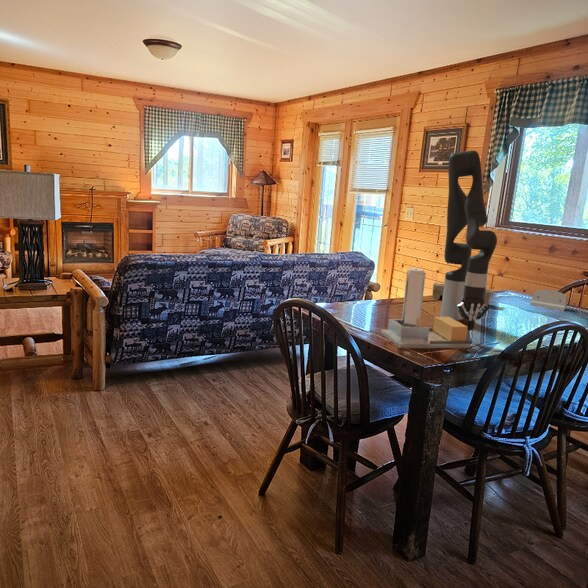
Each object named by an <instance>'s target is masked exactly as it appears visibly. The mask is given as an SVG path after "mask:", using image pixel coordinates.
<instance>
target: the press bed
mask: <svg viewBox="0 0 588 588" xmlns="http://www.w3.org/2000/svg"><path fill="white" fill-rule="evenodd" d="M401 323H402V318H389V319H388V324H387V325H388V326H387V329H385V328H384V329H382V328H381V329H380V334H381V333H382V334H383V335H382V334H381V335H382V336H383V337H385V338H386V337H387V338H388V339H389V340H388V339H387V338H386V339H387V340H388V341H390V342H391V341H392V342H393V343H394V346H396V347H397V346H398V347H399V349H470V348H471V344H473V340H466V341H449V340H447V339H446V338H444V337H443V336H441V335H439V334H438V333H436V332H435V331H433V327H429V326H419V327H404V326H402V325H401ZM392 342H391V343H392ZM393 343H392V344H393ZM398 347H397V348H398Z"/></svg>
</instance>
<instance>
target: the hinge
mask: <svg viewBox="0 0 588 588" xmlns="http://www.w3.org/2000/svg"><path fill="white" fill-rule="evenodd" d="M567 304H568V296H567V295H566V293H565V294H564V293H562V292H560V291H556V290H553V289H537V290H535V291H534V294H533V296H532V299H531V300H530V304H529V305H530V306H534V307H539V308H545V309H550V310H556V311H562V312H565V310H566V311H567Z"/></svg>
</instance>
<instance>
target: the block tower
mask: <svg viewBox="0 0 588 588" xmlns="http://www.w3.org/2000/svg"><path fill="white" fill-rule="evenodd" d="M432 286H433V287H432V297H431V298H432V299H434V300H438V299H440V298H441V297H442V298H441V299H440V300H442V299H443V291H444V283H439V282H435V283H433V285H432ZM493 294H494V290H493V289H487V288H486V291H485V297H484V304H485V305H486V306H488V307H489V305H490V298H491V297H492V296H493ZM433 297H434V298H433Z"/></svg>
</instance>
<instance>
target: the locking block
mask: <svg viewBox="0 0 588 588" xmlns="http://www.w3.org/2000/svg"><path fill="white" fill-rule="evenodd" d="M465 325H466V324H463V323H461V322H460V321H459V320H454V319H452V318H450V317H440V316H434V317H433V326H432V328H433V331H435V332H436V333H438V334H439V335H441V336H443V337H444V338H446V339H447V340H449V341H467V336H468V335H467V334H468V330H467V329H468V327H467V326H465Z"/></svg>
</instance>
